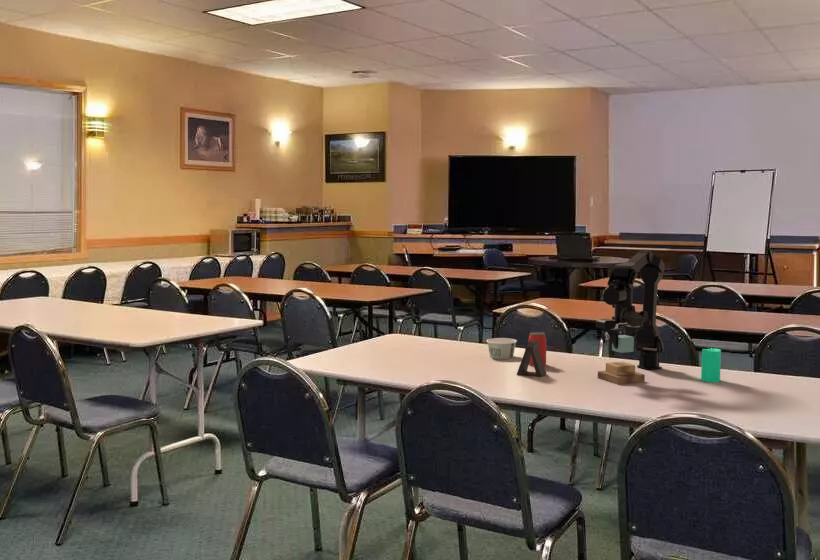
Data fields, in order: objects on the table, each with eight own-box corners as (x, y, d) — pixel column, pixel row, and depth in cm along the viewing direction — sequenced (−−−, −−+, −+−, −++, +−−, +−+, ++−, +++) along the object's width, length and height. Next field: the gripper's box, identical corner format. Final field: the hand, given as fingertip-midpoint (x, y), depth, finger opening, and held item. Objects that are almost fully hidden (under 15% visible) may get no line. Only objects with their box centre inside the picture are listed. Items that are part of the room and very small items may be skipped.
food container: (521, 355, 313) (521, 339, 312) (509, 360, 303) (509, 344, 302) (494, 352, 319) (494, 337, 319) (481, 357, 309) (481, 341, 308)
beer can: (545, 366, 290) (546, 334, 289) (527, 366, 292) (528, 334, 291) (546, 363, 297) (546, 331, 296) (528, 362, 298) (529, 331, 297)
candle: (719, 378, 268) (720, 344, 267) (720, 382, 262) (721, 347, 261) (700, 377, 270) (701, 343, 269) (701, 381, 264) (702, 346, 263)
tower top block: (623, 370, 272) (623, 361, 272) (635, 374, 265) (635, 365, 265) (605, 371, 270) (605, 362, 270) (616, 375, 263) (616, 366, 263)
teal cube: (623, 349, 270) (624, 334, 269) (633, 351, 265) (633, 336, 265) (612, 350, 268) (612, 335, 267) (621, 352, 263) (621, 338, 263)
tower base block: (623, 377, 275) (623, 368, 275) (644, 383, 265) (644, 374, 264) (597, 379, 271) (597, 371, 270) (617, 386, 260) (617, 377, 260)
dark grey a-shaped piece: (546, 374, 278) (546, 340, 277) (541, 377, 272) (541, 343, 271) (522, 371, 282) (522, 338, 281) (516, 375, 277) (516, 341, 275)
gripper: (616, 306, 254) (615, 354, 255) (661, 303, 261) (660, 349, 263) (594, 302, 264) (594, 348, 266) (639, 299, 271) (638, 344, 273)
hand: (622, 347), depth 266 cm, fingers closed on teal cube, 5 cm apart
